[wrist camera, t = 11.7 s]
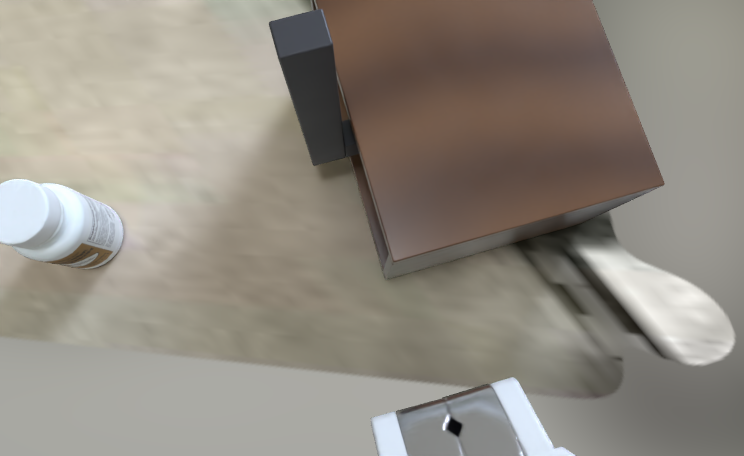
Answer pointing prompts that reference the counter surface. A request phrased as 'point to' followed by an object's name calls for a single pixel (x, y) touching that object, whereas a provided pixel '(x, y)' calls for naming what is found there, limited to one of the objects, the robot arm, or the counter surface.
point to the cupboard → (482, 122)
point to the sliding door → (313, 84)
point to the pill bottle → (58, 224)
